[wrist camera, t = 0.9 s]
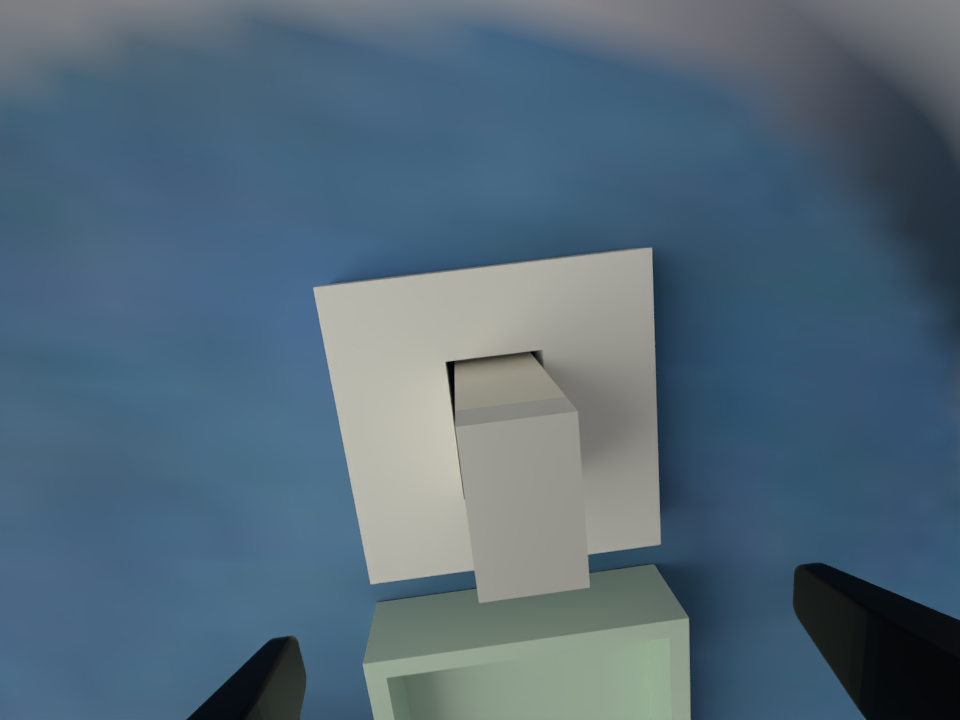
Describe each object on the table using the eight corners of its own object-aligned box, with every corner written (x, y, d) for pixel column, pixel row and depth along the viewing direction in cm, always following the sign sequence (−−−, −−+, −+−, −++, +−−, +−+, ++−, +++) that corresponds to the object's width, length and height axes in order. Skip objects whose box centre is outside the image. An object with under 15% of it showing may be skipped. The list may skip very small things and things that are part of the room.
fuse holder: (641, 517, 21) (660, 544, 19) (378, 553, 21) (370, 584, 19) (630, 248, 18) (652, 247, 16) (328, 284, 18) (313, 287, 16)
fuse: (537, 459, 20) (589, 587, 12) (468, 468, 20) (478, 602, 12) (526, 347, 19) (577, 411, 11) (454, 357, 19) (455, 426, 11)
